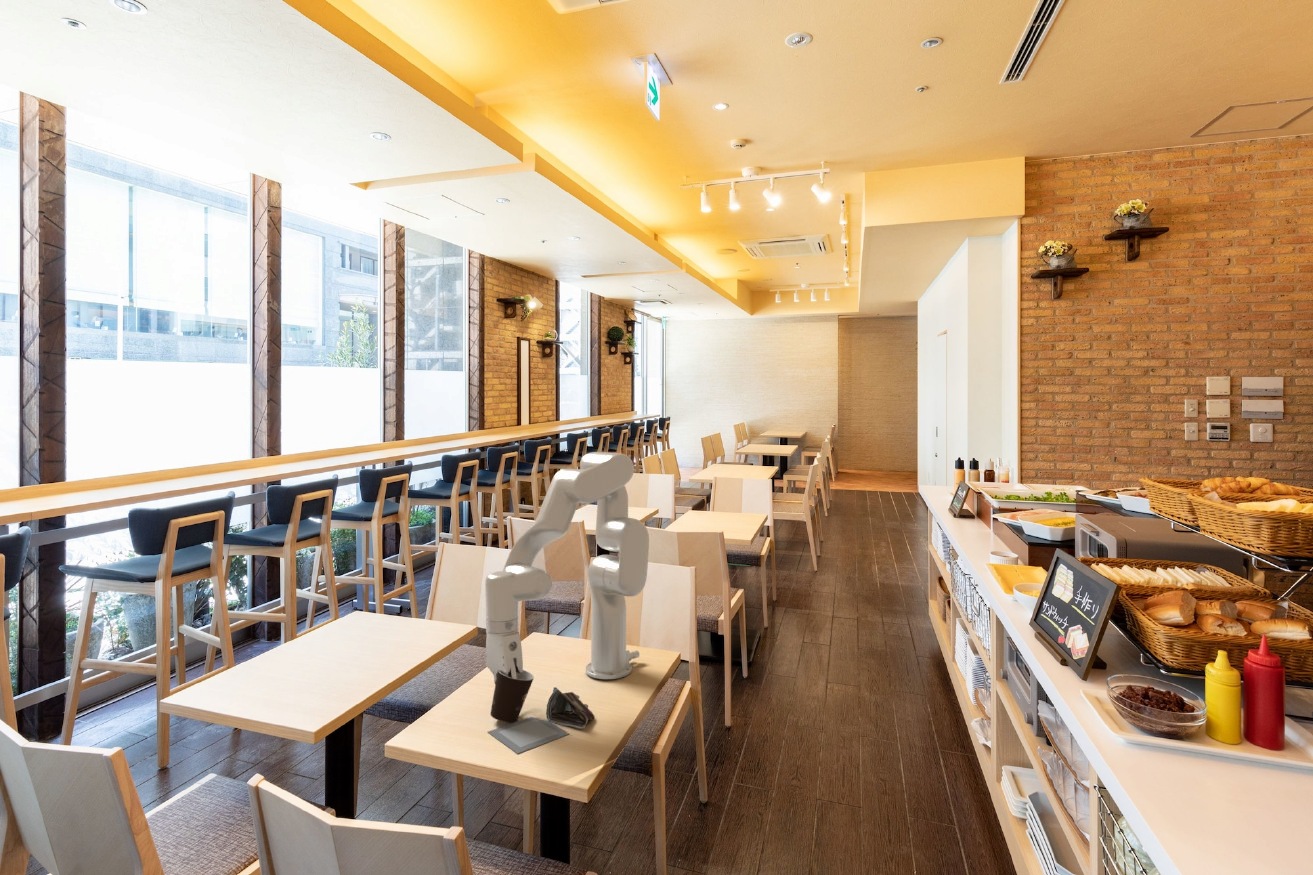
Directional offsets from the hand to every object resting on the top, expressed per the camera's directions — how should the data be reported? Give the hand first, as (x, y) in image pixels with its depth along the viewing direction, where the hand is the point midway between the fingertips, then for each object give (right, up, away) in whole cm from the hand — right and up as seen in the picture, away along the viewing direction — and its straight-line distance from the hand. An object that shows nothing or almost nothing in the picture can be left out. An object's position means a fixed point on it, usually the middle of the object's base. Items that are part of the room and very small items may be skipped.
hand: (503, 701), depth 151 cm
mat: (+8, -3, -9) cm, 12 cm away
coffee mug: (+1, -3, -2) cm, 3 cm away
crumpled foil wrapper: (+20, -5, -6) cm, 21 cm away
